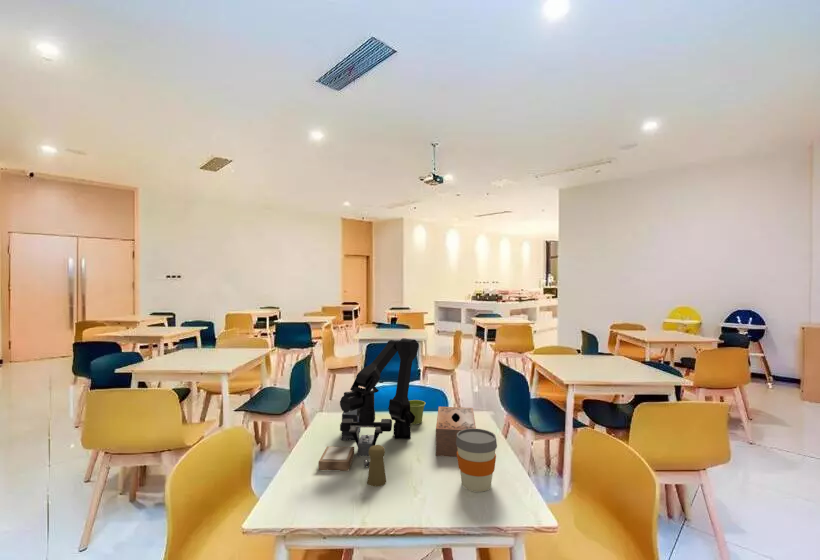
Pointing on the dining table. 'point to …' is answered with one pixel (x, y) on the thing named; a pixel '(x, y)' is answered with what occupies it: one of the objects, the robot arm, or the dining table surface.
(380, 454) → the cork
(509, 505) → the dining table surface
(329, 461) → the picture frame
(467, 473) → the reusable coffee cup
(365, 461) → the loose bolt
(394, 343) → the robot arm
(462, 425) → the tissue box cover
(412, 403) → the plant pot
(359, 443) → the housing
